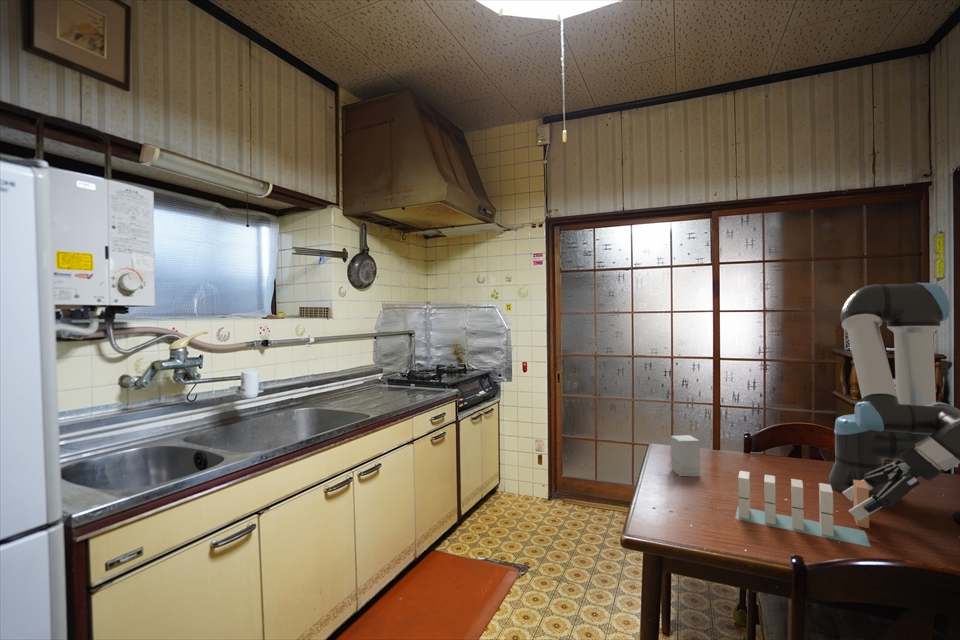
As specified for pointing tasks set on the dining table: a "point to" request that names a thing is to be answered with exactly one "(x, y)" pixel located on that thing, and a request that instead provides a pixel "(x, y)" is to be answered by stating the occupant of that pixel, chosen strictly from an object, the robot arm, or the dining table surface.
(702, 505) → the dining table surface
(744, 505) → the domino
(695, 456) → the supplement box
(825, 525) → the domino
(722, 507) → the dining table surface
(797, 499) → the domino
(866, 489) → the terracotta domino
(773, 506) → the domino
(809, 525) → the domino board
